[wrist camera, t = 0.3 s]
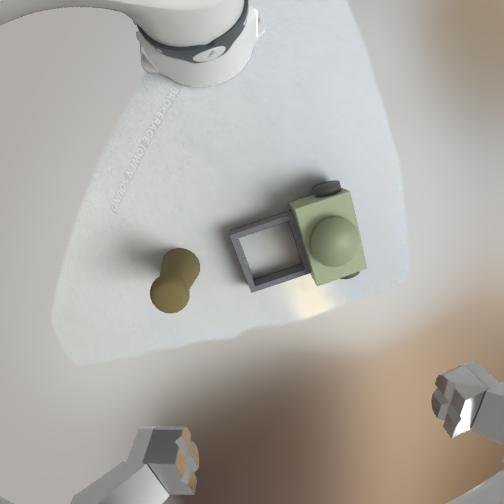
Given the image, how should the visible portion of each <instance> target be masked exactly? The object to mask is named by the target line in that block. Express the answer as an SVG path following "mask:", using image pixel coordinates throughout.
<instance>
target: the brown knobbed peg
mask: <svg viewBox="0 0 504 504" xmlns="http://www.w3.org/2000/svg"><path fill="white" fill-rule="evenodd" d="M199 272H200V263H199V260H198V258H197V257H196V256H195V254H193V253H192V252H191V251H189V250H186V249H181V248H177V249H174V250H171V251H170V252H168V253H167V255H166V256H165V257H164V261H163V264H162V268H161V272H160V277H158V278H157V279H156V280H155V281H154V282H153V284H152V286H151V289H150V298H151V300H152V303H153V304H154V305H155V306H156V308H158V309H159V310H160V311H162V312H165V313H176V312H179V311H180V310H182V309H183V308H184V307H185V306H186V305H187V303H188V300H189V289H190V287H191V286H192V284H193V283H194V281H195V279H196V278H197V276H198V274H199Z"/></svg>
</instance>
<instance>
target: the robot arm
mask: <svg viewBox="0 0 504 504" xmlns="http://www.w3.org/2000/svg"><path fill="white" fill-rule="evenodd" d="M62 7H94V8H105V9H111V10H115V11H120V12H122V13H125V14H126V15H127V16H129V17H130V18H131V19H132V20H133V22H134V24H135V25H137V27H138V29H139V31H138V32H136V35H137V39H138V40H140V51H141V62H142V67H143V69H144V70H145V71H146V72H149V73H155V74H162V75H165V76H167V77H168V78H170V79H171V80H173V81H175V82H177V83H179V84H182V85H185V86H190V87H209V86H213V85H217V84H220V83H223V82H225V81H227V80H229V79H231V78H232V77H234V76H235V75H236V74H238V73H239V72H240V71H241V70H242V69H243V68H244V67H245V65H246V64H247V62H248V61H249V59H250V57H251V54H252V51H253V48H254V45H255V43H256V41H257V40H258V39H259V38H260V37H261V36H262V35H263V34H264V33H265V31H266V24H265V22H264V20H263V19H262V18H261V16H260V15H259V14H258V12H257V9H255V8H254V7H253V6H252V5H251V3H250V2H249V0H0V25H2V24H5V23H7V22H9V21H11V20H14V19H17V18H19V17H22V16H25V15H28V14H31V13H35V12H39V11H43V10H48V9H55V8H62ZM435 385H436V386H437V387H438V388H437V389H436V390H435V392H434V393H433V396H432V400H431V402H432V409H433V411H434V414H435V415H436V417H437V418H439V419H441V420H444V423H443V427H444V428H445V430H446V431H447V433H448V434H449V435H450V437H451V438H453V437H455V436H457V435H459V434H461V433H463V432H465V431H468V430H470V429H471V430H472V431H474V432H476V433H478V434H480V435H482V436H484V437H486V438H488V439H491V440H493V441H495V442H497V443H499V444H501V445H504V382H501V383H499V382H498V381H497V380H496V379H495V378H493V377H492V376H491V375H490V374H489V373H488V372H487V371H486V370H485V369H484V368H483V367H482V366H481V365H480V364H478V362H476V361H474V360H472V361H470V362H467V363H465V364H463V365H461V366H458V367H456V368H454V369H452V370H450V371H447V372H445V373H442V374H440V375H438V377H437V378H436V382H435ZM190 436H191V434H190V432H189V430H188V428H186V427H147V426H142V427H141V428H140V429H139V430H138V433H137V435H136V438H135V441H134V443H133V446H132V449H131V451H130V454H129V457H128V460H127V462H121V463H120V464H119V465H118V466H116V467H115V468H113V469H112V470H111V471H109V472H108V473H106V474H105V475H104V476H102V477H101V478H99V479H98V480H97V481H95V482H94V483H93V484H91V485H90V486H88V487H87V488H85V489H84V490H82V491H81V492H79V493H78V494H76V495H75V496H74V497H73V499H72V501H71V504H162V503H163V502H164V501H165V500H166V499H167V498H168V496H169V494H187V495H188V494H191V495H192V494H195V488H196V481H197V478H196V477H195V475H194V472H195V471H196V470H197V469H198V466H199V454H198V450H197V447H196V444H195V443H194V442H192V441H191V440H190ZM502 462H503V463H504V456H503V459H502ZM0 504H13V503H11V502H9V501H7V500H5V499H4V498H2V497H0ZM446 504H504V469H503V470H501V471H500V472H498V473H497V474H495V475H494V476H492V477H491V478H489V479H488V480H486V481H485V482H483V483H481V484H480V485H478V486H476V487H475V488H473V489H471V490H470V491H468V492H466V493H464V494H463V495H461V496H459V497H457V498H455V499H453V500H452V501H450V502H448V503H446Z"/></svg>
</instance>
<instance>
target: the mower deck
mask: <svg viewBox="0 0 504 504" xmlns="http://www.w3.org/2000/svg"><path fill="white" fill-rule="evenodd" d="M313 192H314V194H313V195H310V196H307V197H303V198H300V199H297V200H294V201H291V202H289V205H290V208H291V210H289V211H286V212H283V213H280V214H277V215H274V216H271V217H268V218H265V219H263V220H260V221H257V222H254V223H251V224H248V225H245V226H242V227H239V228H236V229H234V230H231V231H230V235H229V236H230V238H231V241H232V244H233V246H234V249H235V251H236V254H237V256H238V259H239V262H240V264H241V267H242V269H243V272H244V275H245V277H246V280H247V282H248V285H249V287H250V290H251V292H255V291H258V290H261V289H264V288H267V287H270V286H273V285H276V284H279V283H282V282H285V281H288V280H291V279H294V278H297V277H300V276H303V275H306V274H309V273H310V274H311V276H312V278H313V279H314V281H315V283H316V285H317V286H320V285H323V284H325V283H328V282H331V281H334V280H337V279H349V278H352V277H355V276H356V275H358V274H359V272H360V271H361V270H364V269H366V262H365V257H364V252H363V247H362V242H361V237H360V233H359V228H358V224H357V219H356V215H355V211H354V206H353V202H352V198H351V194H350V191H348V190H345V189H343V188H341V186H340V182H339V181H329V182H325V183H321V184H318V185H316V186H314V187H313ZM288 221H289V223H290V226H291V229H292V232H293V236H294V239H295V242H296V245H297V249H298V252H299V255H300V259H301V262H302V264H299V265H296V266H293V267H290V268H287V269H284V270H281V271H278V272H275V273H272V274H269V275H266V276H263V277H260V278H257V279H254V278H253V276H252V273H251V270H250V268H249V265H248V263H247V260H246V257H245V255H244V252H243V249H242V247H241V244H240V241H239V239H238V238H241V237H244V236H246V235H249V234H252V233H255V232H258V231H261V230H264V229H267V228H270V227H273V226H276V225H279V224H282V223H285V222H288Z"/></svg>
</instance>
